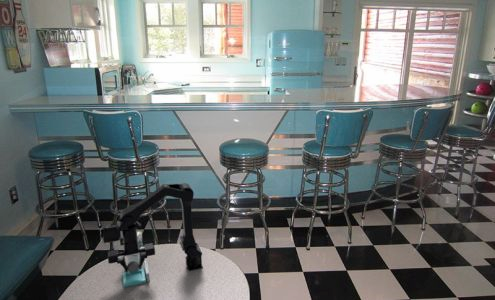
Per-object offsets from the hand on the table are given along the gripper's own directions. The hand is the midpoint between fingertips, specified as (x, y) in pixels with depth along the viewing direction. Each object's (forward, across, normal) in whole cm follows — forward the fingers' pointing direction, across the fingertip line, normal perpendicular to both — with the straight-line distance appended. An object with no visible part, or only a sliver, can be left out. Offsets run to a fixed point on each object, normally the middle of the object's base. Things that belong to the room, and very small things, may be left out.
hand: (133, 270), depth 149 cm
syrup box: (+4, -1, -14) cm, 14 cm away
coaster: (+4, 0, 0) cm, 4 cm away
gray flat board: (+4, -5, -2) cm, 7 cm away
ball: (+1, 0, 0) cm, 1 cm away
